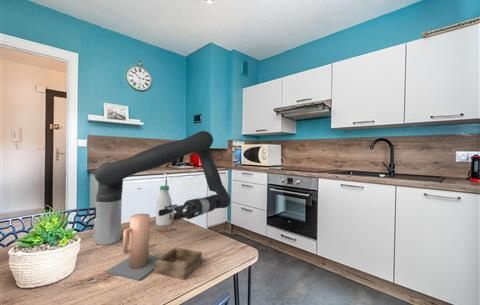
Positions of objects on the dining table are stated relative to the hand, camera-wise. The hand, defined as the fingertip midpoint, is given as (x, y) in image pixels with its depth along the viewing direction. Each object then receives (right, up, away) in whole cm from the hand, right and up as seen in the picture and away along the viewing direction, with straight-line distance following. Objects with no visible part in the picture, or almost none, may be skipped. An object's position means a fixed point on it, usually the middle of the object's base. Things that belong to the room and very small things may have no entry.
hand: (166, 215), depth 81 cm
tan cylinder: (-7, -14, -10) cm, 18 cm away
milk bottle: (-13, -14, +33) cm, 38 cm away
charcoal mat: (-6, -14, -9) cm, 18 cm away
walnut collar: (+8, -15, -9) cm, 19 cm away
